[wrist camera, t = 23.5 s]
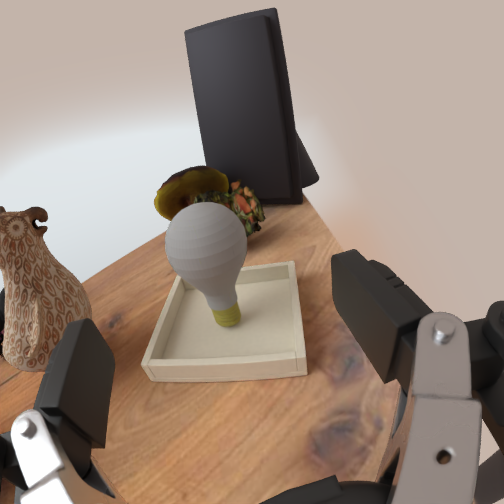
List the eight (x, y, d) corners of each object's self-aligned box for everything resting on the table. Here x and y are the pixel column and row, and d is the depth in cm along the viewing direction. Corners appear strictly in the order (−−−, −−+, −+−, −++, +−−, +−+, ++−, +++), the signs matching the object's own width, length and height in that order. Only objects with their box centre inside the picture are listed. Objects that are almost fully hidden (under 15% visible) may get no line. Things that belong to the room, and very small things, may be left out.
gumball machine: (-17, 350, 19) (45, 296, 26) (-39, 307, 19) (20, 258, 26) (3, 365, 24) (55, 318, 31) (-19, 328, 24) (31, 285, 31)
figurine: (130, 375, 20) (35, 192, 13) (39, 424, 16) (-79, 265, 8) (104, 320, 27) (41, 180, 20) (31, 360, 22) (-44, 229, 15)
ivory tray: (296, 278, 28) (293, 260, 27) (307, 375, 18) (306, 356, 17) (182, 291, 29) (176, 274, 28) (151, 381, 20) (140, 364, 19)
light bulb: (218, 296, 27) (187, 191, 22) (274, 306, 24) (252, 188, 19) (183, 338, 23) (137, 224, 18) (244, 355, 20) (206, 226, 15)
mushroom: (267, 270, 42) (232, 192, 48) (275, 218, 31) (230, 133, 38) (182, 298, 39) (160, 214, 46) (159, 254, 29) (139, 158, 35)
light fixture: (324, 174, 58) (306, 33, 45) (308, 208, 41) (280, 1, 28) (246, 177, 64) (226, 47, 51) (201, 210, 47) (170, 31, 34)
